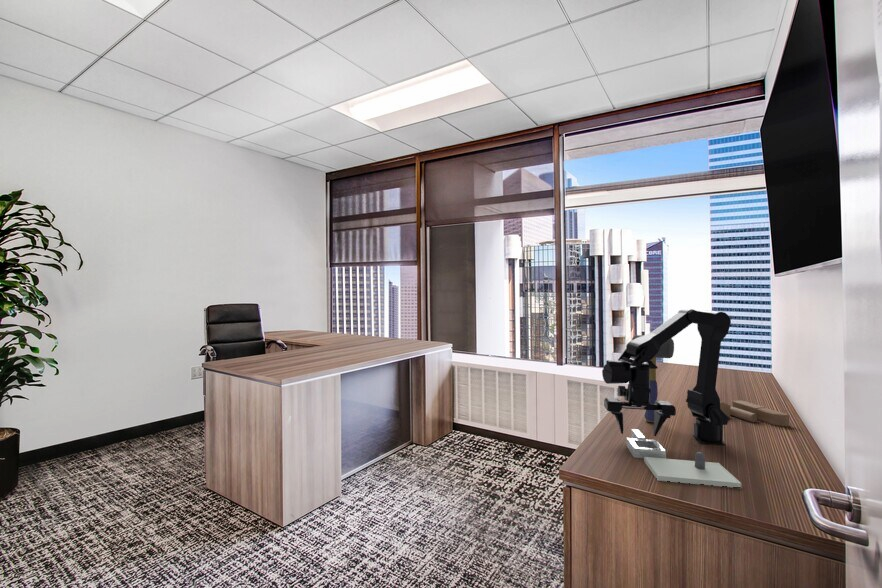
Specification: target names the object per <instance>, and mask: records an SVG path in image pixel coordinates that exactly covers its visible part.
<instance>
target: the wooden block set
mask: <svg viewBox="0 0 882 588" xmlns="http://www.w3.org/2000/svg"><path fill="white" fill-rule="evenodd" d="M720 409H721V410H722V411H723V412H724V413H725V414H726V415H727V416H728V418H731V416H732V417H735V418H738V419H740V420H744V421H746V422H749V423H756V422H757V421H760V422H763V423H766V424H769V425H773V426H778V427H789V426H790V414H788V413H784V412H781V411H777V410H773V409H770V408H767V407H766V406H762V405H758V404H755V403H752V402H748V401H745V400H732V406H731V405H729V404H728V403H726V402H722V401H720Z"/></svg>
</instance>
